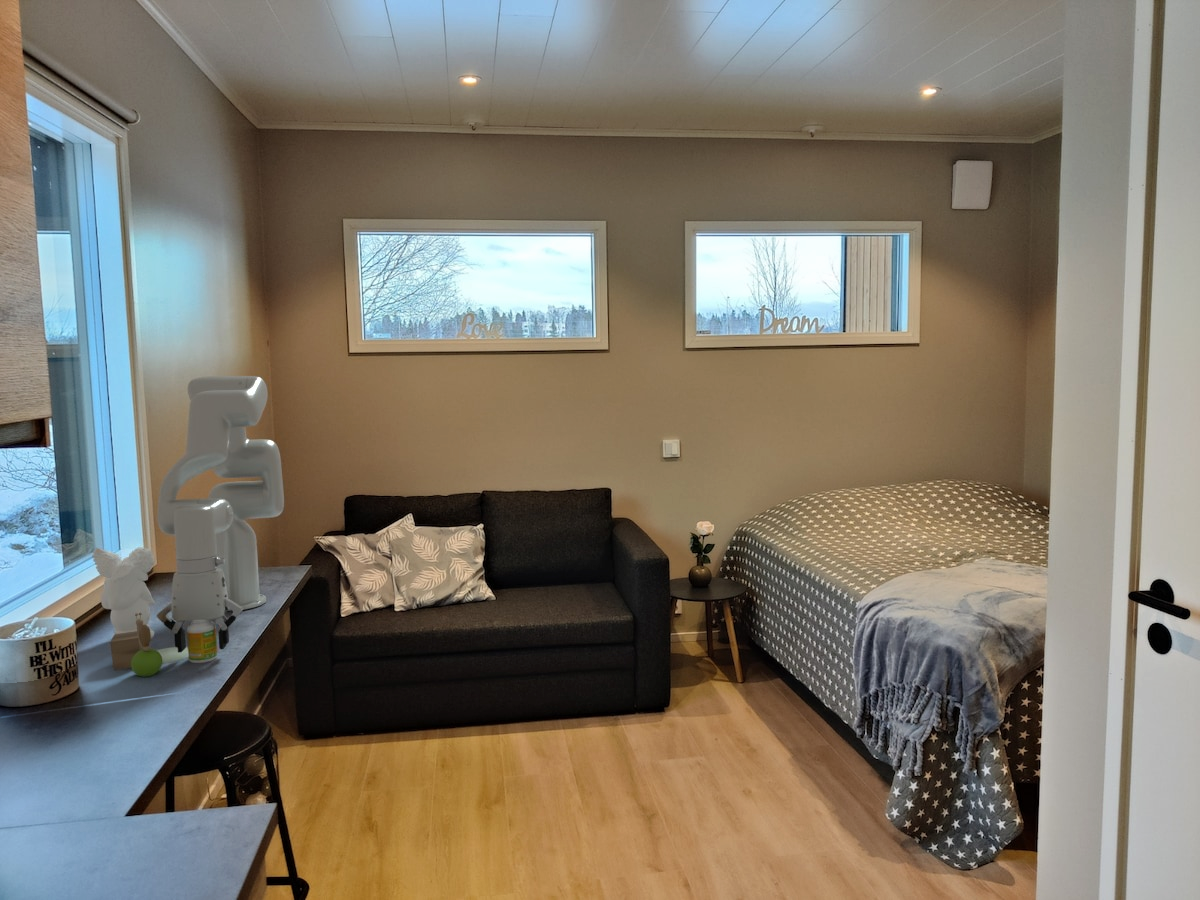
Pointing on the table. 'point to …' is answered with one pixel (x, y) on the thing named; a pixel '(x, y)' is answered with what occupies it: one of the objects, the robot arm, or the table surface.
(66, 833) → the table surface
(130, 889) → the table surface
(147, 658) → the snail figurine
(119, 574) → the cherub figurine
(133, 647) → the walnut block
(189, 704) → the table surface
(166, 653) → the felt coaster
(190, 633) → the supplement bottle
